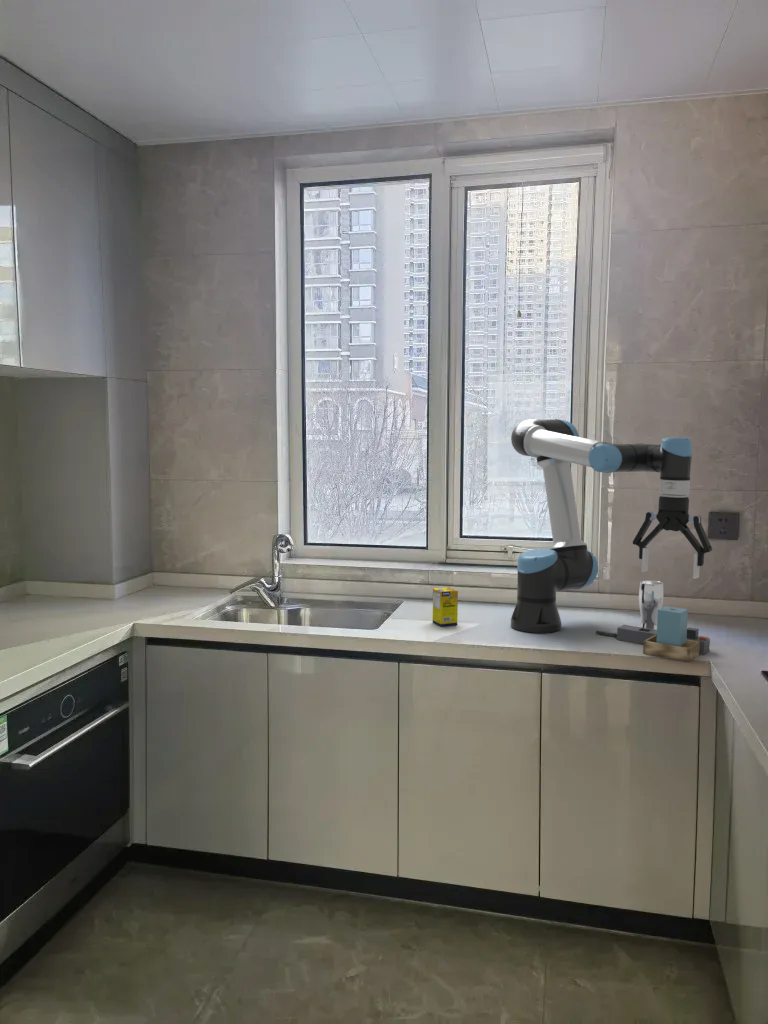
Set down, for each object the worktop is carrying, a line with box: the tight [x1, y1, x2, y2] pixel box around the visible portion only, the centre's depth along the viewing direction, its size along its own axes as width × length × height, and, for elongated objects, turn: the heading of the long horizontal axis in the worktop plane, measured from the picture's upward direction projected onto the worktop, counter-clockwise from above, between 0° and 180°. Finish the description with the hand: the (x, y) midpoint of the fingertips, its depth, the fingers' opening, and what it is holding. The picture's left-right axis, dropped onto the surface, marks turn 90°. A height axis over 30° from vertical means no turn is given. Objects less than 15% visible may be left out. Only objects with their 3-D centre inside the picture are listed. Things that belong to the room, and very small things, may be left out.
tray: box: [642, 635, 701, 663], centre depth 205 cm, size 12×9×4 cm
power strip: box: [595, 624, 711, 656], centre depth 216 cm, size 32×5×6 cm, turn 52°
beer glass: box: [638, 579, 664, 630], centre depth 229 cm, size 7×7×15 cm
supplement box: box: [432, 587, 459, 627], centre depth 238 cm, size 6×6×11 cm
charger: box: [656, 605, 689, 647], centre depth 205 cm, size 6×6×12 cm
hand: (669, 574), depth 206 cm, fingers open, 13 cm apart
